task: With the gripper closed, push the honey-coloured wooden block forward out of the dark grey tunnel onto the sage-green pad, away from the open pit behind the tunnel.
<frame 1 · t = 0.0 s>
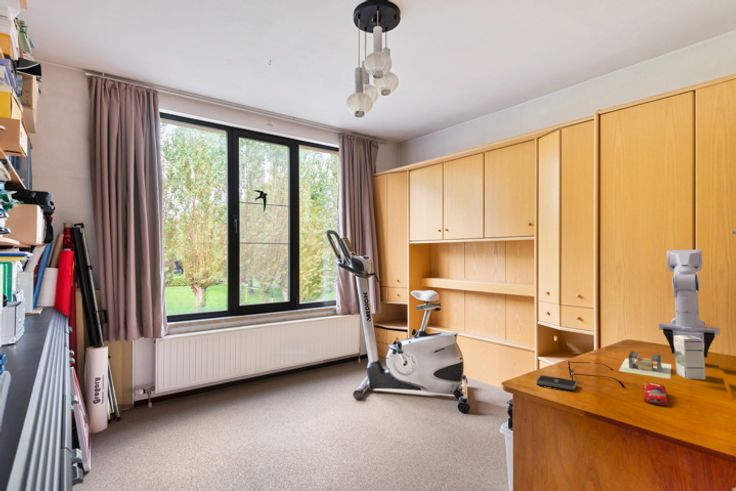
hand: (689, 354, 116), 10 cm above the table, tool pointing down, fingers open, 7 cm apart
eyeglasses: (594, 380, 126), on the table
syrup box: (690, 381, 122), on the table
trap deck: (645, 371, 132), on the table
wooden block: (645, 368, 131), point 1 cm above the table, touching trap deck
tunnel: (645, 361, 132), on the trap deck, point 4 cm above the table
race car: (655, 400, 107), on the table
external hard drive: (557, 387, 119), on the table
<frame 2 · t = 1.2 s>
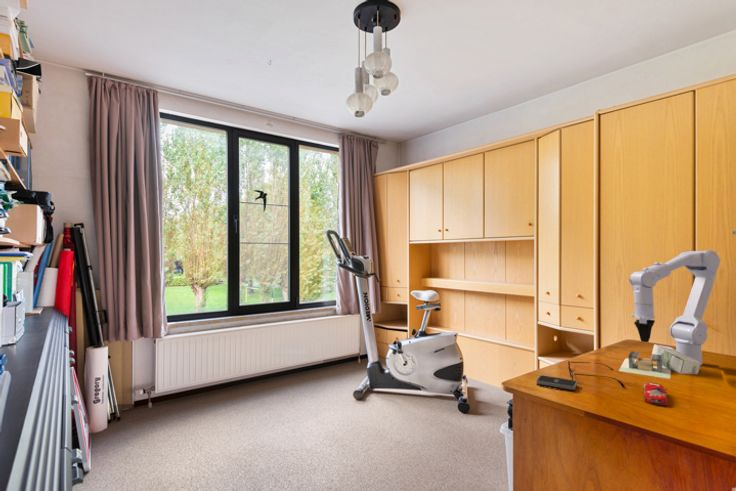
hand: (645, 340, 135), 10 cm above the table, tool pointing down, fingers open, 5 cm apart
syrup box: (691, 369, 124), point 3 cm above the table, touching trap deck
everything else where it was.
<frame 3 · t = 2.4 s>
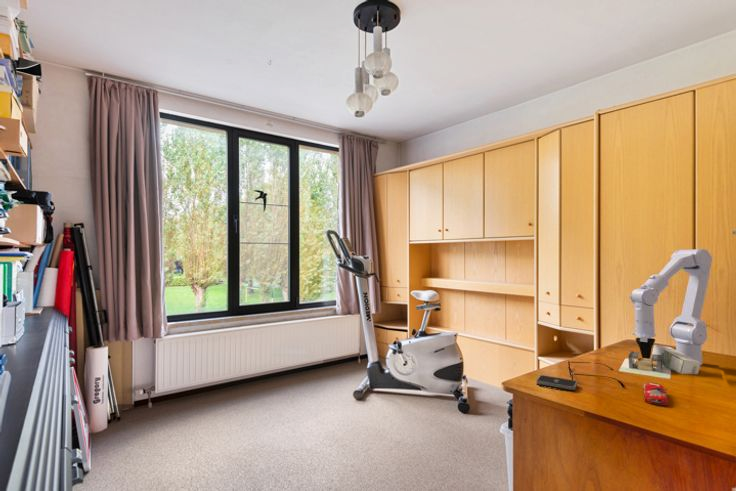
hand: (646, 358, 135), 4 cm above the table, tool pointing down, fingers closed
nothing on the table moved.
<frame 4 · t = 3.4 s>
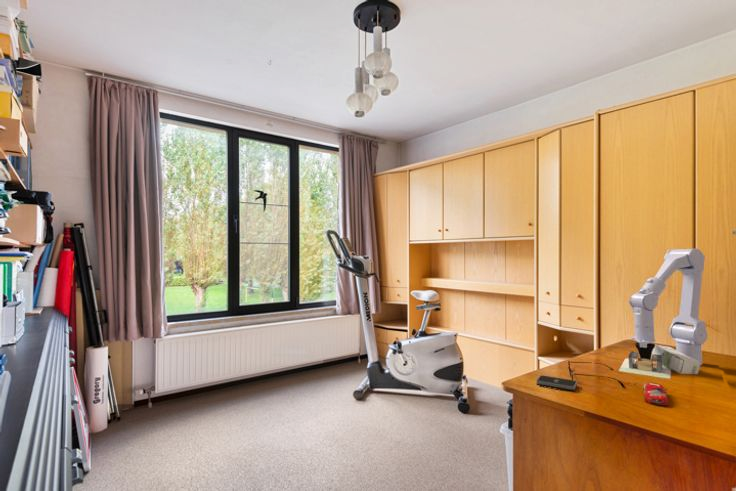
hand: (645, 363, 133), 2 cm above the table, tool pointing down, fingers closed
wooden block: (645, 368, 130), point 2 cm above the table, touching gripper, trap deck
everything else where it was.
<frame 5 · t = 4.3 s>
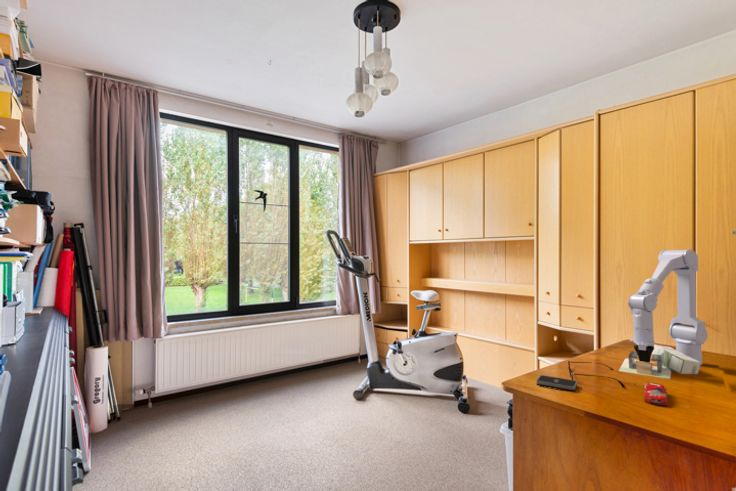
hand: (644, 366, 130), 2 cm above the table, tool pointing down, fingers closed
wooden block: (644, 372, 127), point 2 cm above the table, touching gripper, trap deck
everything else where it was.
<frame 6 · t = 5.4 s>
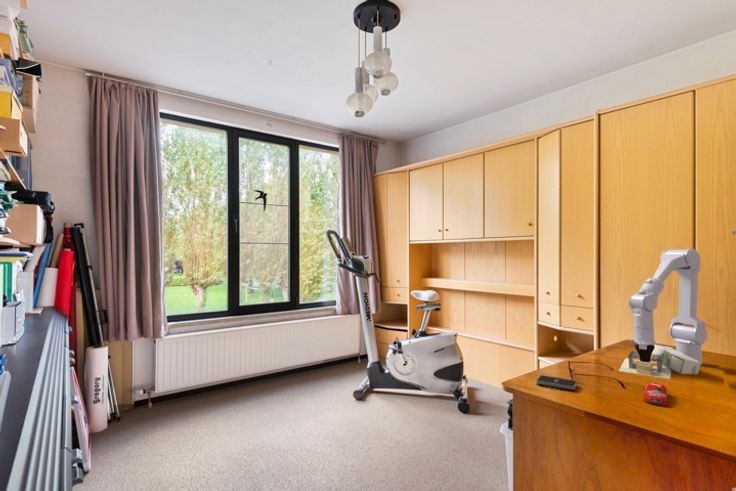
hand: (645, 365, 131), 2 cm above the table, tool pointing down, fingers closed
wooden block: (644, 372, 127), point 1 cm above the table, touching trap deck
everything else where it was.
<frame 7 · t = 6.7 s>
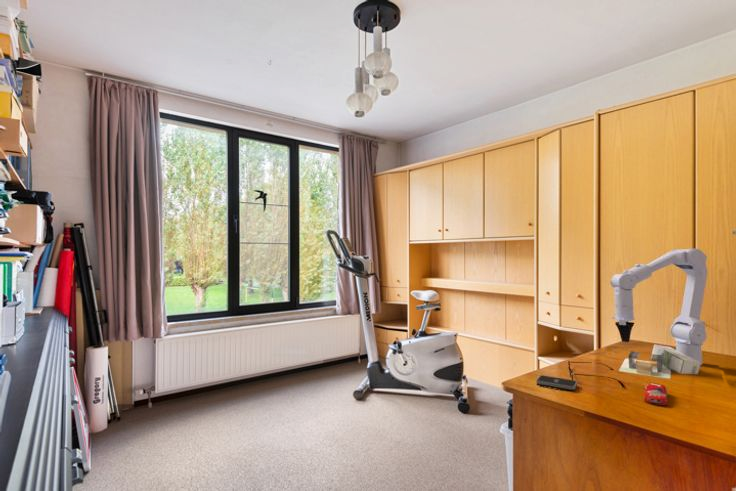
hand: (625, 341, 138), 9 cm above the table, tool pointing down, fingers closed
nothing on the table moved.
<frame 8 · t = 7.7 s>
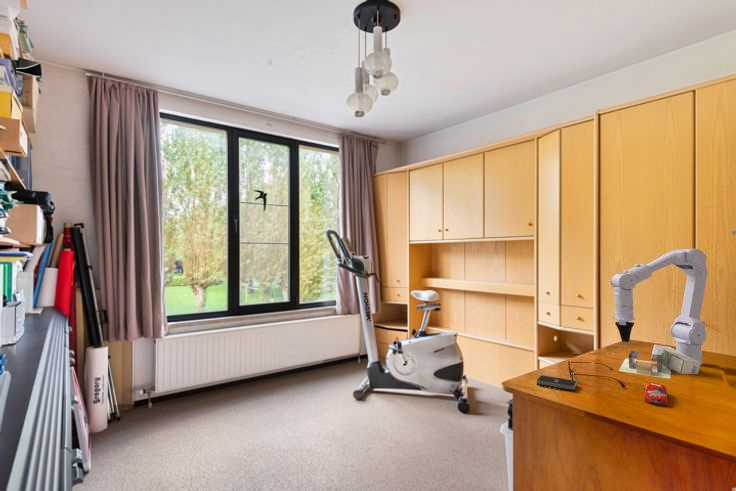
hand: (625, 341, 138), 9 cm above the table, tool pointing down, fingers closed
nothing on the table moved.
at the end: wooden block 1.8 cm from the target spot, point 1.5 cm above the table; wooden block tilted 0° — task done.
